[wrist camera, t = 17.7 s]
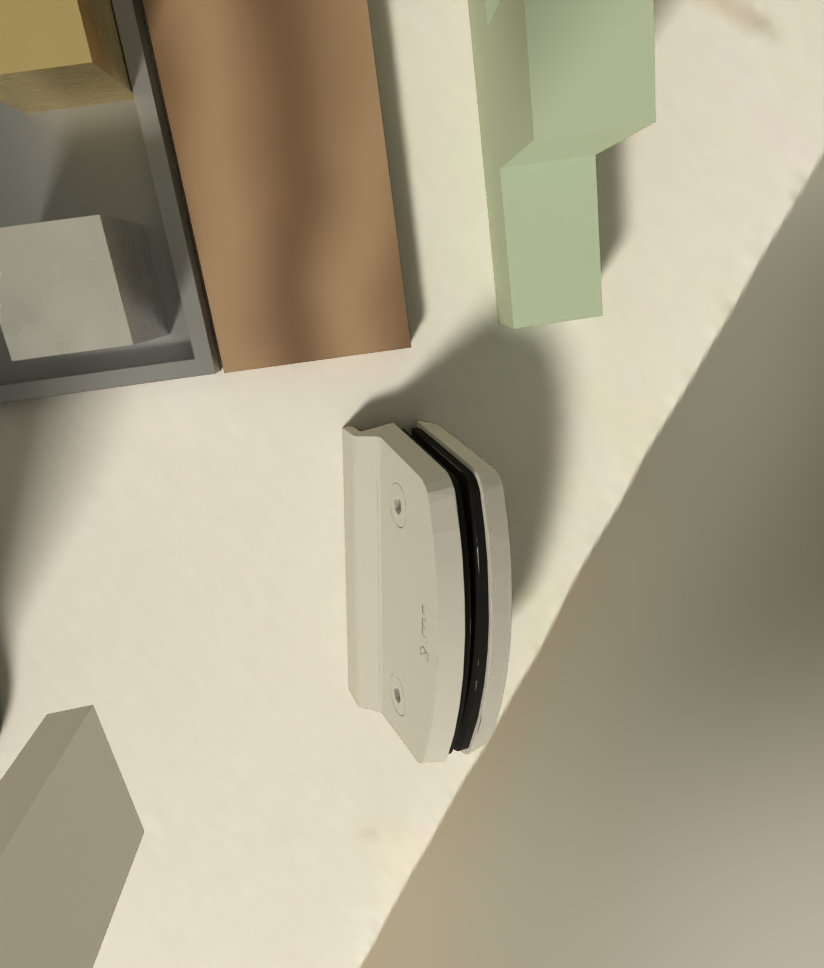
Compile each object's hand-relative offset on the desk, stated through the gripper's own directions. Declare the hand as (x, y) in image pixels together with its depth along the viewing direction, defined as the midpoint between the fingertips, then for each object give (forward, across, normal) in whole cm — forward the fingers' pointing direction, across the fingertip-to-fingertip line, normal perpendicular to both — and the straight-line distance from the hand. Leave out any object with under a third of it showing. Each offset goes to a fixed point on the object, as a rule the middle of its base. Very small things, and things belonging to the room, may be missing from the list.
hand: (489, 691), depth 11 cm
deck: (+24, +3, -13) cm, 27 cm away
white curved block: (+24, +1, +9) cm, 25 cm away
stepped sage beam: (+23, -8, -13) cm, 28 cm away
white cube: (+24, +13, -9) cm, 28 cm away
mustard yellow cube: (+24, +11, -19) cm, 32 cm away
